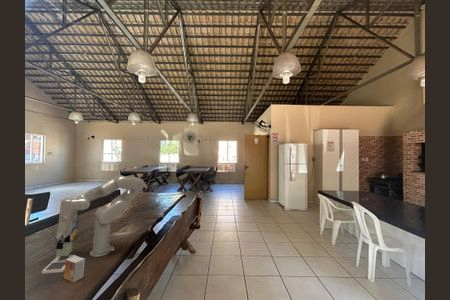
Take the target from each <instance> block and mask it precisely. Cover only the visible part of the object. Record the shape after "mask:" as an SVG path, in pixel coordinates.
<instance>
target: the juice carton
mask: <svg viewBox="0 0 450 300" xmlns="http://www.w3.org/2000/svg"><path fill="white" fill-rule="evenodd" d="M79 215H80V210H75V211H74V220H73V221H72V231H71V237H70V242H72V243H73V241H74V240H76V239H77V238H78V230H79V229H78V228H79ZM61 240H62V239H61ZM63 243H64V240H63Z"/></svg>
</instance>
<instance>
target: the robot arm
mask: <svg viewBox="0 0 450 300" xmlns="http://www.w3.org/2000/svg"><path fill="white" fill-rule="evenodd" d="M145 185H146V184H145V181H144V179H142V178H140V177H136V176H135V177H129V176H124V175H121V174H118V175H116V176H114V177H112V178H111V179H109V180H107V181H106V182H103V183H102V184H100V185H98V186H96V187H93V188H92V189H90V190H89V189H88V190H87V191H86V192H84V193H82V194H81V195H79V196H78V197H76V198H73V197H70V198H68V197H67V198H63V199H62V200H60V209H59V216H58V225H57V230H56V236H55V238H56V247H55V248H56V250H57V249H63V240H64V242H70V237H71V231H72V221H73V220H74V211H75V210H79V211H86V210H87V209H89V207H90V205H91V203H90V202H92V201H95V200H96V199H98V198H99V199H100V198H103V197H107V196H109V195H111V194H112V193H113V192H115V191H117V190H118V189H123V190H124V191H123V192H122V193H121V194H120V195H118V196H117V197H115V198H113V199H112V200H111V201H110V206H109V207H108V206H100V207H98V208H97V209H96V211H95V213H94V231H93V241H92V242H93V243H92V250H90V251H89V256H91V257H94V258H97V257H103V256H107V255H108V254H110V253H111V252H114V251H115V247H114V246H111V244H110V233H111V223H112V222H113V221H115V220H117V219H118V218H119V217H121V215H123V214H124V213H125V212H127V210H128V208H129V203H131V202H132V201H133V200H134V199H135V198H136V197H137V195H138V194H139V191H141V190H142V189H144V188H145ZM61 239H62V240H61Z"/></svg>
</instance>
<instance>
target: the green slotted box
mask: <svg viewBox="0 0 450 300" xmlns="http://www.w3.org/2000/svg"><path fill="white" fill-rule="evenodd" d="M72 251H73V241H72V242H64V243H63V249H56V254H55V256H56V257H57V256H68V255H71V252H72Z"/></svg>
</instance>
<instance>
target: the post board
mask: <svg viewBox="0 0 450 300" xmlns="http://www.w3.org/2000/svg"><path fill="white" fill-rule="evenodd" d="M73 256H77V254H69V255H68V256H56V257H55V258H54V259H52V261H51V262H50V263H49V264H48V265H47V266H45V268H43V269H42V271H41V274H42V275H43V274H53V273H56V274H57V273H64V272H65V261H66V259H68V258H71V257H73Z"/></svg>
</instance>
